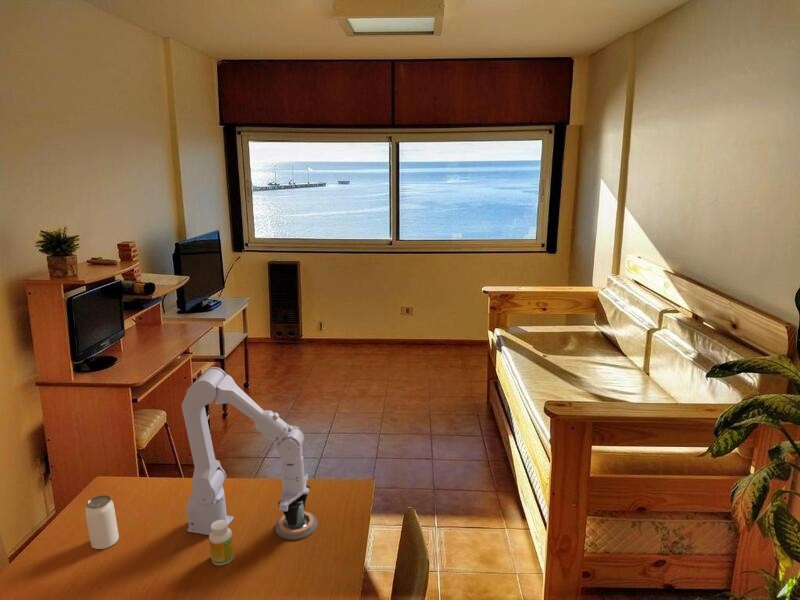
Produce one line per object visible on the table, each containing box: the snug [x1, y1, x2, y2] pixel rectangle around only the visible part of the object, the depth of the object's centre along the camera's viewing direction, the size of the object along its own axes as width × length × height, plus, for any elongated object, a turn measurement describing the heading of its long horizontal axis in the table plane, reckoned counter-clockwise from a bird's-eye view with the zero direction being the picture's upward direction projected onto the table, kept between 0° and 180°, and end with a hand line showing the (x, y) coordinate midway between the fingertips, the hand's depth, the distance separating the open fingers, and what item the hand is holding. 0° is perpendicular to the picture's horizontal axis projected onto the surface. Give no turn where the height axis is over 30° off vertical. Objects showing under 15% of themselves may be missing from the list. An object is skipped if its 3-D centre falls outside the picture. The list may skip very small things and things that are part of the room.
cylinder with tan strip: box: [288, 501, 305, 529], centre depth 154 cm, size 5×4×6 cm
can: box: [84, 494, 120, 550], centre depth 148 cm, size 6×6×12 cm
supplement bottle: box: [208, 520, 235, 566], centre depth 142 cm, size 5×5×10 cm
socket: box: [274, 510, 318, 541], centre depth 154 cm, size 11×11×2 cm
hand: (296, 518), depth 154 cm, fingers closed on cylinder with tan strip, 4 cm apart
